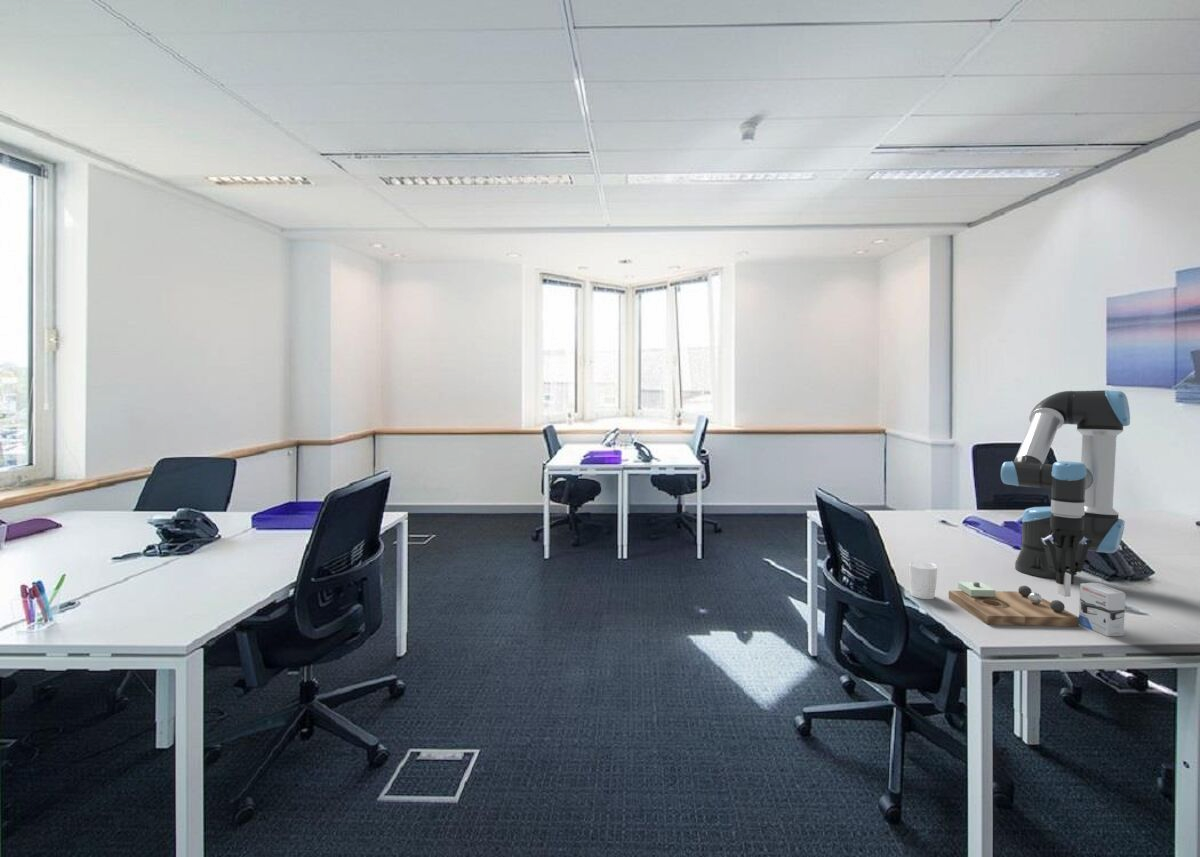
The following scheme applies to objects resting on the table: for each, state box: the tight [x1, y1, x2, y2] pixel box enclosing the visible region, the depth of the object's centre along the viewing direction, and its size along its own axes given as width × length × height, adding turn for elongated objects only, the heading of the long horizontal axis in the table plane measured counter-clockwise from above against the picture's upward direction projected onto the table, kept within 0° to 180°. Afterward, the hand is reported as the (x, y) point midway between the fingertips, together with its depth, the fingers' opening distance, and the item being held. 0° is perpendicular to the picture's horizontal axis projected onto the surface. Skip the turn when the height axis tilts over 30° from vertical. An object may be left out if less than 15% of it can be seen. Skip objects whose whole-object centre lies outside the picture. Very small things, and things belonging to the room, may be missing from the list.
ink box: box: [1078, 582, 1126, 637], centre depth 151 cm, size 8×5×12 cm, turn 5°
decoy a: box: [1017, 585, 1033, 597], centre depth 169 cm, size 3×3×3 cm
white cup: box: [908, 561, 938, 600], centre depth 178 cm, size 8×8×10 cm
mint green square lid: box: [957, 581, 996, 597], centre depth 172 cm, size 7×7×3 cm
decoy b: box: [1050, 599, 1066, 612], centre depth 157 cm, size 3×3×3 cm
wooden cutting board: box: [948, 590, 1080, 627], centre depth 164 cm, size 24×20×2 cm
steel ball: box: [1028, 592, 1043, 604], centre depth 163 cm, size 3×3×3 cm
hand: (1064, 594), depth 162 cm, fingers closed
